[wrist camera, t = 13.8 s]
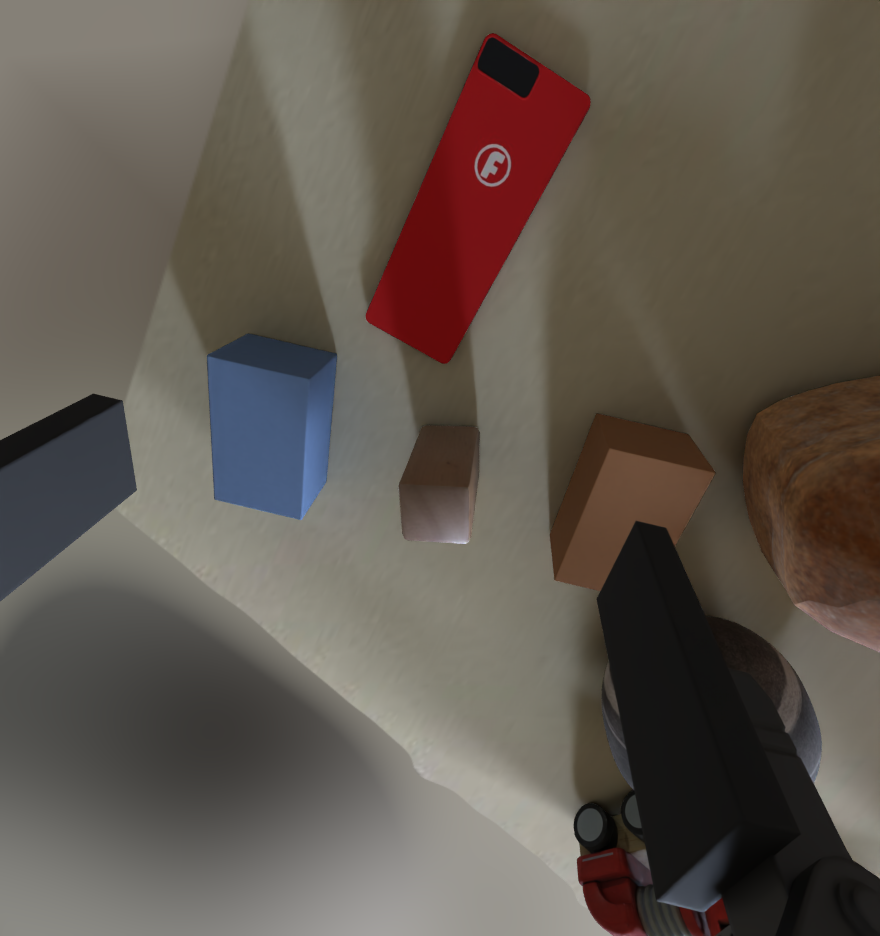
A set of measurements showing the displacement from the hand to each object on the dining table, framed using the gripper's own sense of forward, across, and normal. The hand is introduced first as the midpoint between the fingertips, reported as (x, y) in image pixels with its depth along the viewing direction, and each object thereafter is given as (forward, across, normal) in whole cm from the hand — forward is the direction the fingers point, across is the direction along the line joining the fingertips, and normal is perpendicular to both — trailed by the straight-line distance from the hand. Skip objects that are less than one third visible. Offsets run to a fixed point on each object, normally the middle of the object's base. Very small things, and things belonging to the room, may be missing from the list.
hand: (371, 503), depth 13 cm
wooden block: (+20, +2, -9) cm, 22 cm away
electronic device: (+20, 0, +5) cm, 21 cm away
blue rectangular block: (+20, -10, -9) cm, 24 cm away
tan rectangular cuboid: (+20, +13, -9) cm, 25 cm away
